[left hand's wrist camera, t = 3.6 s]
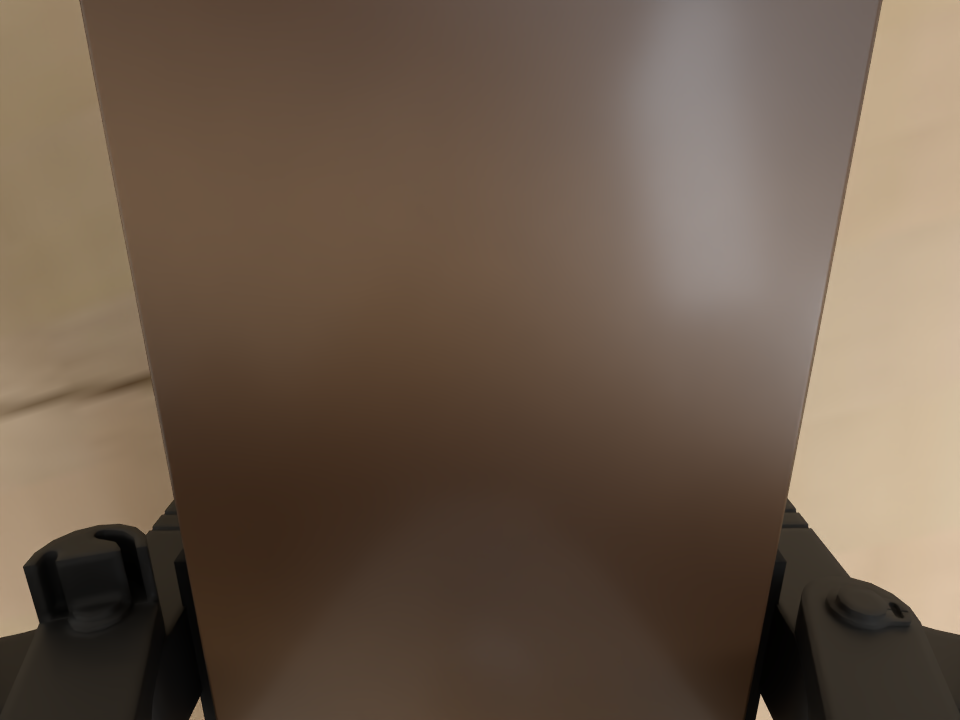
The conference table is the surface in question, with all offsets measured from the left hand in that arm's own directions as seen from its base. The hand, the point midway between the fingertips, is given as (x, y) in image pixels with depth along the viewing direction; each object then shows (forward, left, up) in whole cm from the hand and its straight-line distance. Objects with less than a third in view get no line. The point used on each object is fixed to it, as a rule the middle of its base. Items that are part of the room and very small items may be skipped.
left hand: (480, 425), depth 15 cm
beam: (+15, +7, 0) cm, 16 cm away
